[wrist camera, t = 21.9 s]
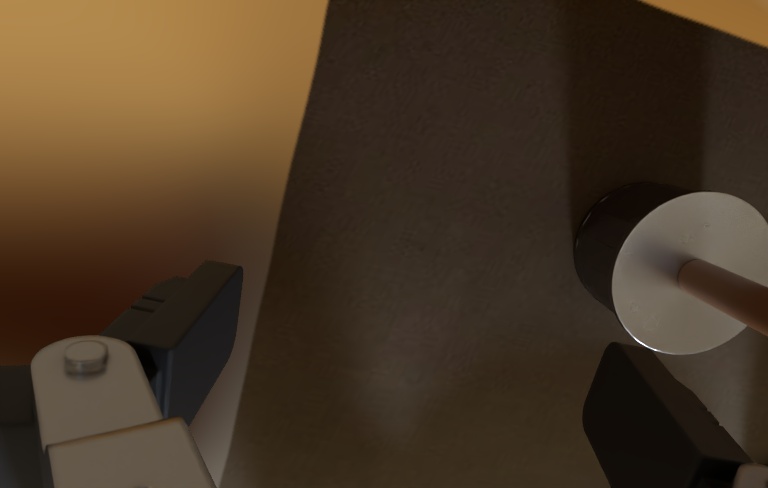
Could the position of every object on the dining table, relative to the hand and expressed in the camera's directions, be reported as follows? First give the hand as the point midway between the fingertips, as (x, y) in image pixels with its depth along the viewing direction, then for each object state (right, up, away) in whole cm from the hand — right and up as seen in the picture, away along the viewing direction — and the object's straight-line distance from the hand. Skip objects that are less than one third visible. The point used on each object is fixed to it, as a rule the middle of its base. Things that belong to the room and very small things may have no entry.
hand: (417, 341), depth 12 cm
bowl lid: (+20, 0, +25) cm, 32 cm away
